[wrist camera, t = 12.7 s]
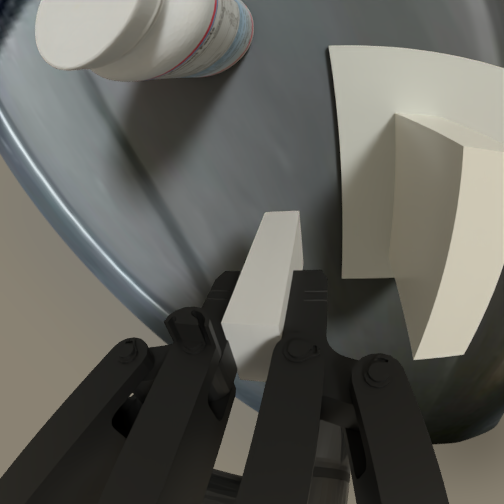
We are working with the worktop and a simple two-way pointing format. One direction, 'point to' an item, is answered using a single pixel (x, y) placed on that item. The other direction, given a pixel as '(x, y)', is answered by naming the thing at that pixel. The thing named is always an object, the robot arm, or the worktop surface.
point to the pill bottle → (144, 37)
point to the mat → (383, 131)
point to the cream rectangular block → (445, 230)
